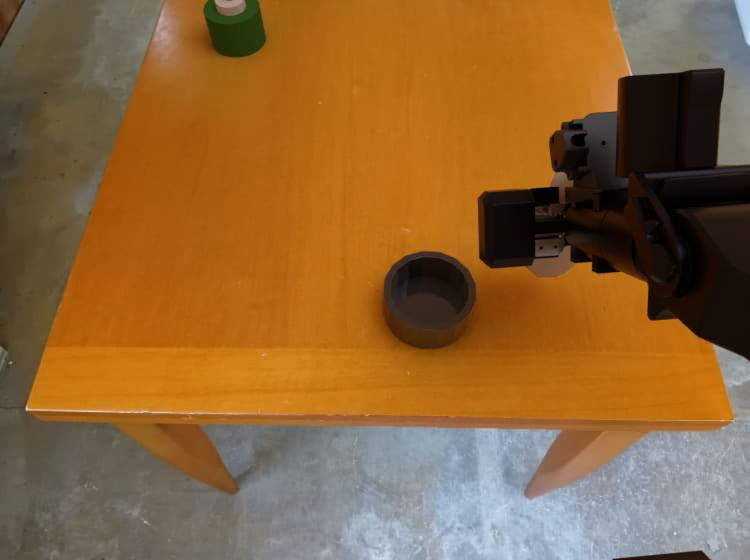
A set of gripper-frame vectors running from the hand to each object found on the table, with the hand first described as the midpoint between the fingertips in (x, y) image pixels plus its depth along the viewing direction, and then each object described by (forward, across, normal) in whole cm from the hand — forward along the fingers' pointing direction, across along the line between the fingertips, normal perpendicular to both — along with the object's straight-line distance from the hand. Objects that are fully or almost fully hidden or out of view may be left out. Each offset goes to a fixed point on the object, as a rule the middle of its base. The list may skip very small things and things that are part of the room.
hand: (556, 212), depth 55 cm
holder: (+7, +12, +11) cm, 17 cm away
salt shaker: (+4, 0, +6) cm, 7 cm away
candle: (+42, +35, -25) cm, 60 cm away
